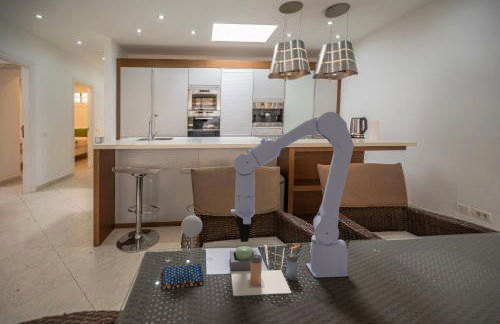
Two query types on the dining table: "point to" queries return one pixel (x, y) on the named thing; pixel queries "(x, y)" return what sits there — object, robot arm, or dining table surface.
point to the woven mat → (182, 276)
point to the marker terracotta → (255, 270)
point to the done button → (243, 253)
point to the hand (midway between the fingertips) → (244, 241)
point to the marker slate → (291, 266)
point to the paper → (269, 283)
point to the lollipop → (191, 229)
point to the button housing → (240, 262)
